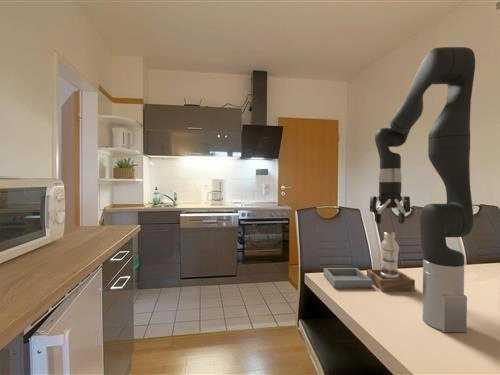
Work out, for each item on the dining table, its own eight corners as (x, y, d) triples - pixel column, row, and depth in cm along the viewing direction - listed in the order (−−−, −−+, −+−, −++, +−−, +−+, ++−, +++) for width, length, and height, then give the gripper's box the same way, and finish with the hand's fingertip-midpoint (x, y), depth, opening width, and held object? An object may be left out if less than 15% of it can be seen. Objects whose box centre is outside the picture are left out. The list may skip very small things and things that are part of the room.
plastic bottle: (394, 281, 105) (394, 231, 105) (402, 288, 98) (402, 234, 98) (377, 281, 106) (377, 231, 105) (384, 288, 99) (384, 234, 99)
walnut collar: (414, 291, 96) (414, 280, 96) (381, 291, 96) (381, 280, 96) (396, 279, 108) (396, 269, 108) (366, 279, 108) (366, 269, 108)
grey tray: (372, 288, 99) (372, 280, 99) (334, 288, 99) (334, 280, 99) (356, 275, 113) (356, 268, 113) (323, 275, 113) (323, 268, 113)
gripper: (376, 181, 97) (375, 225, 98) (414, 180, 97) (414, 225, 98) (366, 181, 105) (366, 222, 105) (403, 180, 105) (402, 222, 105)
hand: (389, 223), depth 101 cm, fingers open, 8 cm apart
